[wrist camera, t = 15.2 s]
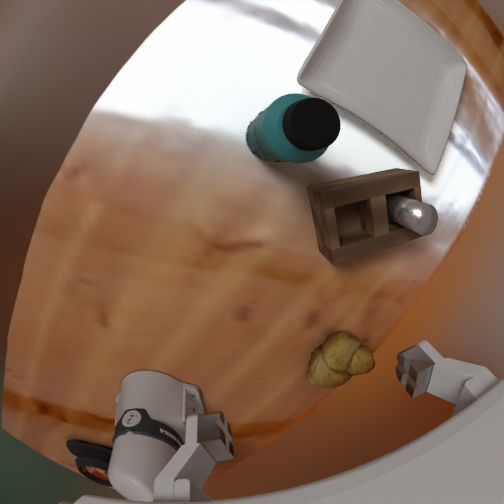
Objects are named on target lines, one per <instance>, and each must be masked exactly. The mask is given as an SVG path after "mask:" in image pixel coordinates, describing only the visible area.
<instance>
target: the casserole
mask: <svg viewBox="0 0 504 504" xmlns="http://www.w3.org/2000/svg"><path fill="white" fill-rule="evenodd" d="M67 447H68V449H69V451H70V452H71V453H72V454H74V455H75V456H77V457H78V458H76V460H75V461H76V464H77V468H78V470H79V472H80V473H82V474H83V475H84V476H86V477H87V478H89V479H91V480H92V481H95V482H97V483H99V484H102V485H105V486H109V487H113V486H112V485H111V483H110V481H109V478H108V468H109V464H110V459H111V455H112V450H110V449H107V448H104V447H101V446H97V445H92V444H87V443H83V442H80V441H76V440H68V441H67Z"/></svg>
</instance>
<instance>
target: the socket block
mask: <svg viewBox="0 0 504 504" xmlns="http://www.w3.org/2000/svg"><path fill="white" fill-rule="evenodd" d="M307 189H308V194H309V199H310V204H311V209H312V214H313V219H314V225H315V230H316V236H317V241H318V247H319V251H320V252H321V253H322V254H323V255H324V256H325V257H326V258H327V259H328V260H329V261H330V262H331V263H332V264H333V265H336V264H339V263H343V262H346V261H349V260H352V259H355V258H358V257H362V256H365V255H368V254H371V253H374V252H377V251H380V250H383V249H386V248H389V247H392V246H395V245H398V244H401V243H404V242H407V241H410V240H413V239H416V238H419V237H422V236H423V235H421V234H419V233H417V232H415V231H413V230H411V229H408V228H406V227H404V226H402V225H400V224H398V223H396V222H394V221H392V220H389V219H388V215H387V205H386V197H385V195H387V194H391V193H395V194H398V195H401V196H404V197H408V198H411V199H414V200H417V201H420V202H422V197H421V186H420V177H419V171H412V170H405V169H398V168H395V169H390V170H385V171H380V172H375V173H370V174H365V175H360V176H356V177H351V178H346V179H342V180H337V181H333V182H328V183H324V184H319V185H315V186H311V187H307Z"/></svg>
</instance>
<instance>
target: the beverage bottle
mask: <svg viewBox="0 0 504 504" xmlns="http://www.w3.org/2000/svg"><path fill="white" fill-rule="evenodd" d="M258 115H259V116H258ZM258 115H257V116H258V117H256V118H255V119H254V120H253V121H251V122H252V123H250V125H249V126H248V128H247V129H248V130H247V131H246V132H247V134H246V141H247V142H246V143H247V144H248V145H247V146H249V148H250V149H249V150H251V152H252V153H253V154H255V155H256V156H257V157H258V158H259V159H260V158H262V160H263V159H265V160H274V161H276V162H282V161H289V162H294V163H305V162H310V161H313V160H315V159H317V158H318V157H320V156H321V155H322V154H323V153H324V152H325V151H326V149H327V148H328V146H329V145H331V144H332V143H333V142H334V141H335V140H336V138H337V137H338V135H339V132H340V119H339V116H338V113H337V112H336V110H335V109H334V107H333V106H332V105H331V104H329V103H328V102H326V101H325V100H322V99H319V98H311V97H309V96H307V95H303V94H288V95H284V96H281V97H280V98H278V99H276V100H275V101H274V102H273V103H272V104H271V105H270V106H269V107H268V108H267V109H265V110H264V111H262V112H261V113H260V114H258ZM271 162H272V161H271ZM282 163H283V162H282Z"/></svg>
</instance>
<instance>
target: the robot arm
mask: <svg viewBox="0 0 504 504" xmlns="http://www.w3.org/2000/svg"><path fill="white" fill-rule="evenodd" d="M397 360H398V361H399V362H398V364H397V365H396V374H397V377H398V380H399V381H400V382H401V383H402V384H405V385H406V390H407V392H408V393H409V395H410V396H411V397H412V398H414V397H416V396H418V395H420V394H422V393H424V392H426V391H427V392H429V393H431V394H433V395H435V396H438V397H440V398H442V399H445V400H447V401H449V402H452V403H454V404H456V406H455V409H454V411H453V413H452V416H453V417H452V418H451V419H449V420H447V421H446V422H444V423H443V424H441V425H439V426H438V427H436V428H435V429H433V430H431V431H430V432H428V433H426V434H425V435H423V436H421V437H419V438H417V439H416V440H414V441H412V442H410V443H408V444H406V445H404V446H402V447H400V448H398V449H396V450H395V451H392V452H390V453H388V454H386V455H384V456H382V457H380V458H377V459H375V460H373V461H370V462H368V463H366V464H363V465H361V466H358V467H356V468H353V469H350V470H348V471H345V472H342V473H339V474H337V475H334V476H331V477H328V478H324V479H321V480H318V481H315V482H311V483H308V484H304V485H300V486H297V487H293V488H289V489H284V490H280V491H275V492H270V493H265V494H260V495H254V496H248V497H241V498H234V499H226V500H215V501H211V499H210V498H209V497H208V496H207V495H206V494H204V493H203V492H202V491H201V489H202V487H203V485H204V483H205V482H206V480H207V478H208V477H209V475H210V473H211V471H212V469H213V468H214V466H215V464H216V462H217V461H223V460H228V459H234V450H233V446H232V444H231V443H230V442H231V440H232V432H231V428H230V426H229V423H228V421H227V420H224V415H223V413H222V411H217V412H211V413H205V410H204V406H203V403H202V399H201V395H200V391H199V388H198V387H196V386H194V385H191V384H186V383H182V382H180V381H178V380H176V379H174V378H173V377H171V376H168V375H166V374H163V373H159V372H154V371H138V372H134V373H131V374H129V375H128V376H126V377H125V378H124V379H123V381H122V384H121V391H120V393H119V394H118V395H117V396H116V402H117V404H118V407H117V413H116V419H115V426H116V427H115V430H114V432H113V444H114V446H113V450H112V455H111V459H110V464H109V468H108V478H109V481H110V483H111V485H112V486H113V487H114V488H115V490H117V491H118V492H119V493H120V494H121V495H123V496H124V497H126V498H127V499H128V500H121V499H113V498H105V497H99V496H93V495H84V496H82V497H81V498H80V499H78V500H77V501H76V502H75V503H71V502H61V503H59V504H504V378H503V379H501V380H500V381H499V380H498V379H497V378H496V377H495V376H494V375H493V374H492V373H491V372H490V371H489V370H488V369H487V368H486V367H483V366H479V365H474V364H470V363H466V362H462V361H458V360H454V359H450V358H445V359H444V358H443V357H442V356H441V355H440V354H439V353H438V352H437V351H436V350H435V349H434V348H433V347H432V346H431V345H430V344H429V343H428V342H427V341H425V340H424V341H422V342H420V343H418V344H416V345H414V346H412V347H410V348H408V349H406V350H404V351H402V352H400V353H398V355H397Z"/></svg>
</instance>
